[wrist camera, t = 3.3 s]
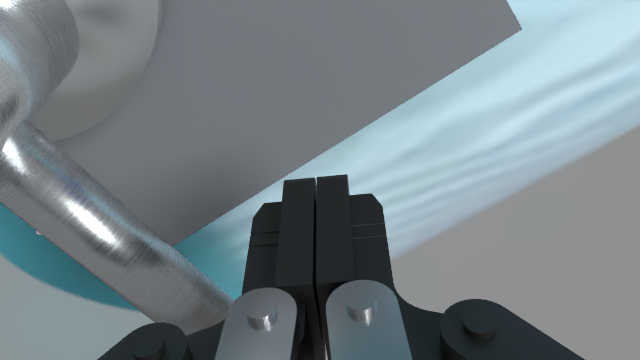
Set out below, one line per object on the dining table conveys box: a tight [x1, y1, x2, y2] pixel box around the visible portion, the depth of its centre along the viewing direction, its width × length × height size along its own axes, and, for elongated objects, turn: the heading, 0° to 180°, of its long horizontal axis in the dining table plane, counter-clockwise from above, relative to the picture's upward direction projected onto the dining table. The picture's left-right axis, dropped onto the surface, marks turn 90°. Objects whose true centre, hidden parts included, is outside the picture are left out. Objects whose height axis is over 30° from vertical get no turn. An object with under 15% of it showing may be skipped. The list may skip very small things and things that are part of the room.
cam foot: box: [0, 0, 235, 336], centre depth 14 cm, size 16×9×6 cm, turn 36°
